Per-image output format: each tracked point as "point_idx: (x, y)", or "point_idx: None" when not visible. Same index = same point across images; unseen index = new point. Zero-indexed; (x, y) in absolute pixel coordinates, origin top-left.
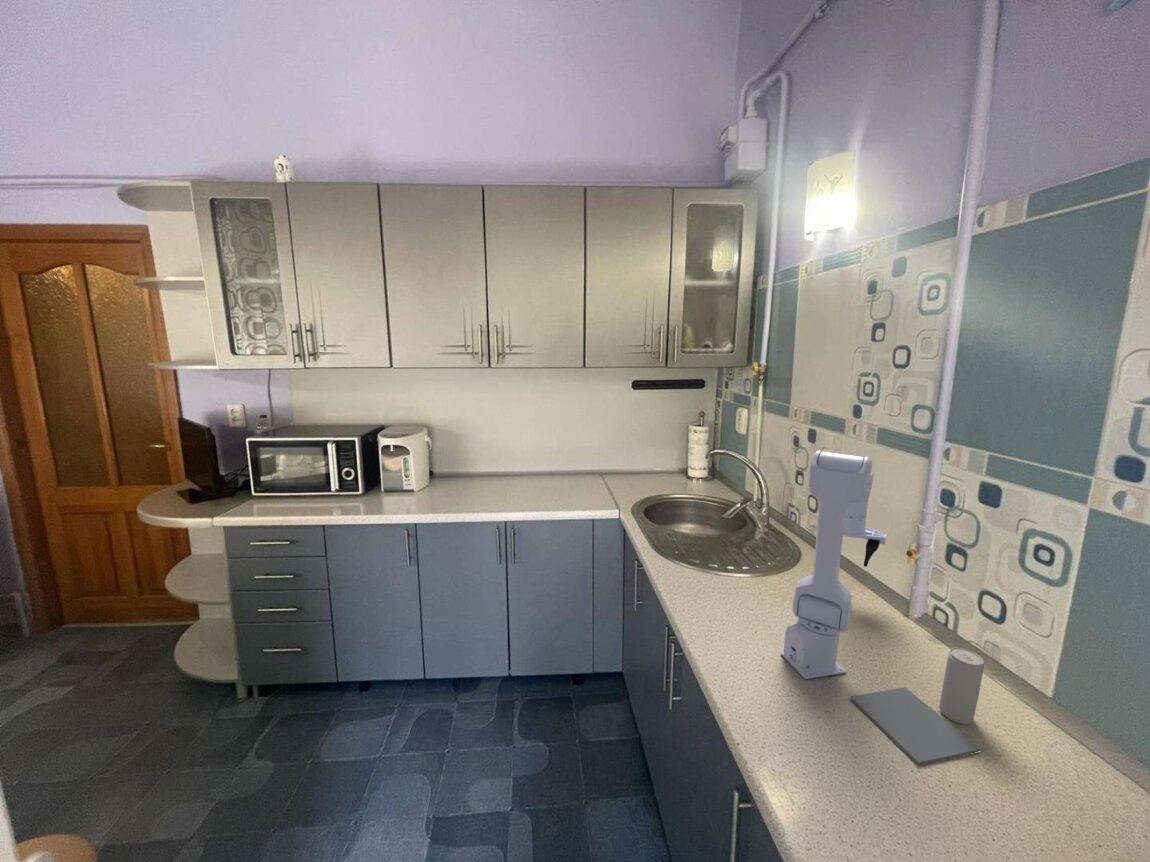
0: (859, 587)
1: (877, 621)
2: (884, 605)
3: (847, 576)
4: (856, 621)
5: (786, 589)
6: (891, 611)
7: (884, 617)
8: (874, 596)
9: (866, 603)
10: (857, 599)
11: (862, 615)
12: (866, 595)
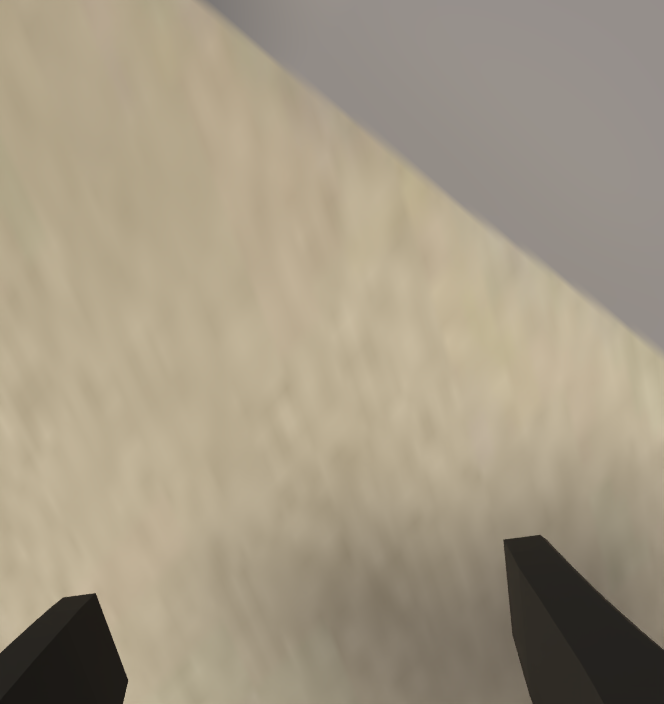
0: (363, 168)
1: (593, 576)
2: (582, 323)
3: (224, 33)
4: (493, 667)
5: (19, 605)
6: (640, 375)
7: (618, 494)
8: (492, 234)
9: (477, 391)
10: (412, 381)
11: (501, 572)
12: (443, 265)
